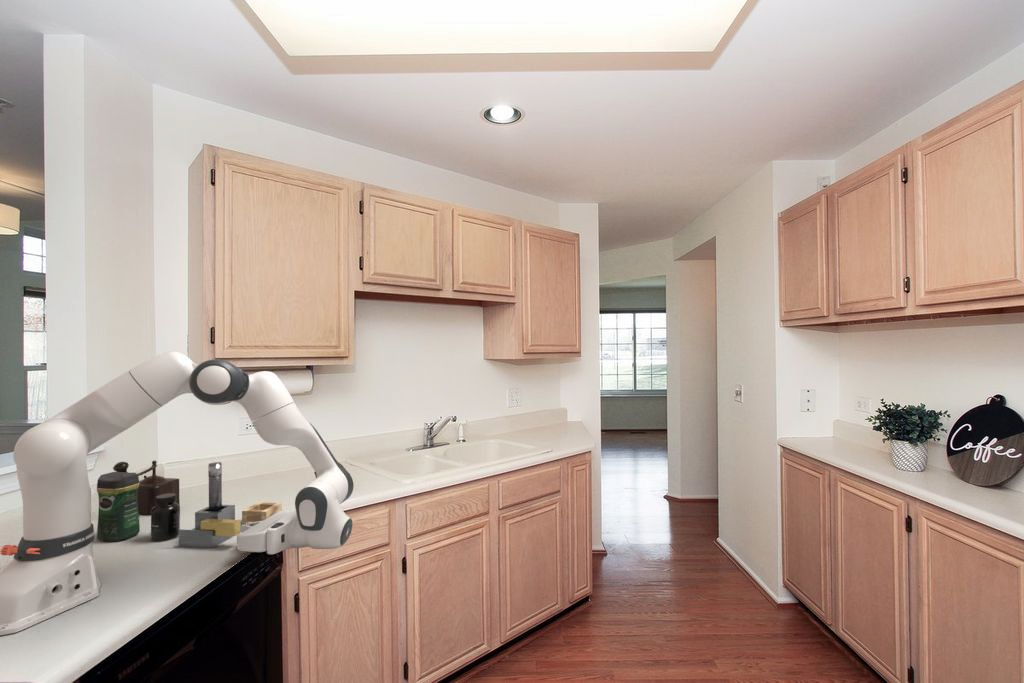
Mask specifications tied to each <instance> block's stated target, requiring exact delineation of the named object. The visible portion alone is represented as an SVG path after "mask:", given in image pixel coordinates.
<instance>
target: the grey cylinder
mask: <svg viewBox="0 0 1024 683" xmlns="http://www.w3.org/2000/svg"><path fill="white" fill-rule="evenodd" d="M207 470H208V475H207V476H208V506H209V511H210V512H218V511H220V510H222V505H223V499H222V498H223V490H222V489H223V484H222V483H223V482H222V481H223V479H222V476H223V473H222V472H223V464H222V462H221V461H216V462H211V463H208V469H207Z"/></svg>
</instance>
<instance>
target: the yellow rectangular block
mask: <svg viewBox="0 0 1024 683" xmlns="http://www.w3.org/2000/svg"><path fill="white" fill-rule="evenodd" d="M240 521H241V519H235V520H229V519H205V520H203V521H201V530H206V531H213V536H233V537H237V535H239V534H241V532H240Z"/></svg>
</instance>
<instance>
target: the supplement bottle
mask: <svg viewBox="0 0 1024 683" xmlns="http://www.w3.org/2000/svg"><path fill="white" fill-rule="evenodd" d="M175 501H176V494H174V493H168V494H162V495H159V496H157V497H156V502H155V504H156V506H154V507H153V508H152V510H151V515H150V539H151V541H153V542H158V543H159V542H167V541H170V540H173V539H175V538H176V539H177V537H179V530H180V529H181V516H180V515H181V506H180V505H181V504H180V505H179V504H178V503H176V502H175Z"/></svg>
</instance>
